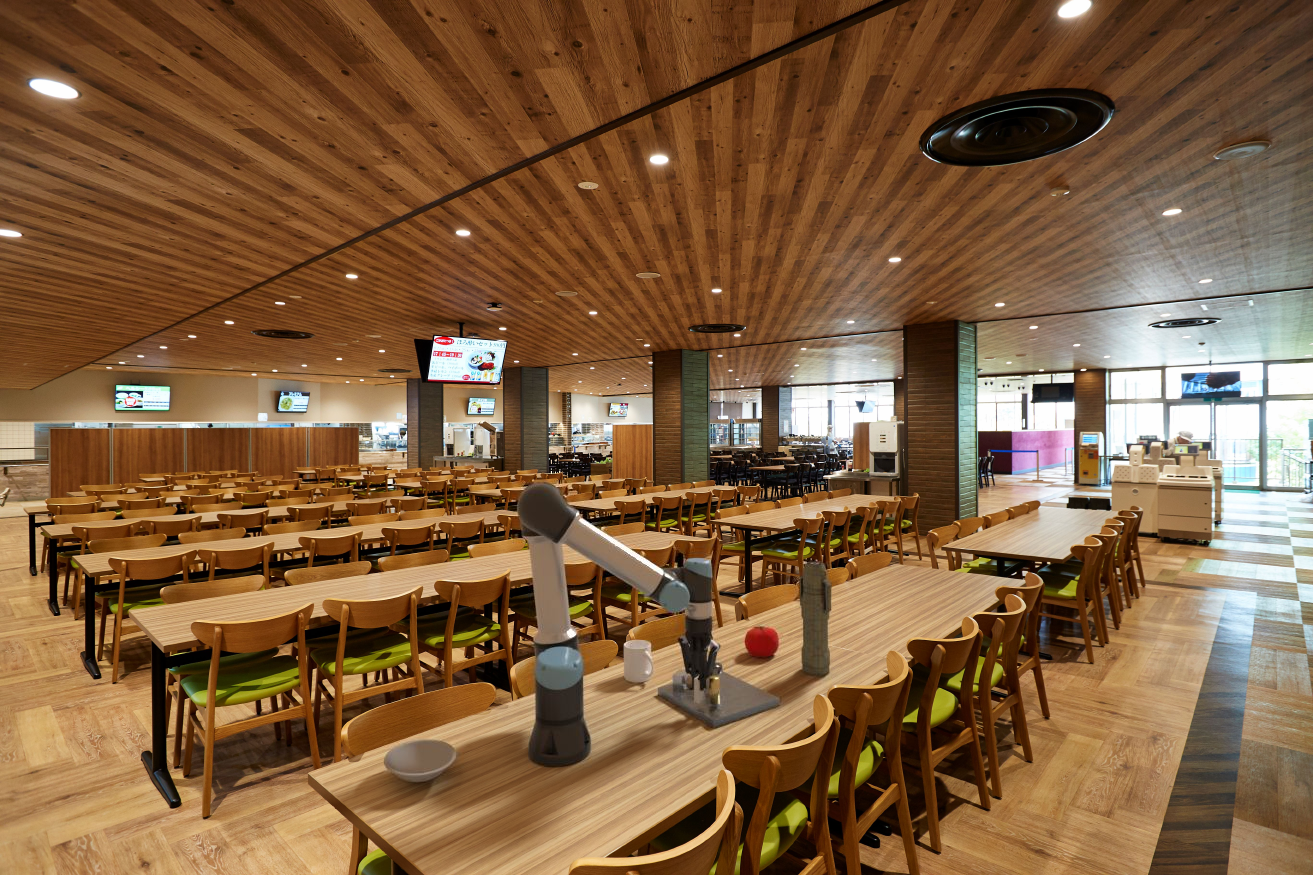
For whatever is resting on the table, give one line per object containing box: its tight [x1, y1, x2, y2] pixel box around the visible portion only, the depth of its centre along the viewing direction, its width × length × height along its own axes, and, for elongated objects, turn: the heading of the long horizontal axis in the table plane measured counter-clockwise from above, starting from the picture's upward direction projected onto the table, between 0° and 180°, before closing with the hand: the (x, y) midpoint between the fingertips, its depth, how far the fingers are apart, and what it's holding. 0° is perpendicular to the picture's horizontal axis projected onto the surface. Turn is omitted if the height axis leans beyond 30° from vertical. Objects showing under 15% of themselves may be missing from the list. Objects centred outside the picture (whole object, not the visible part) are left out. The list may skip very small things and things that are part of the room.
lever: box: [706, 661, 723, 705], centre depth 178 cm, size 5×19×7 cm, turn 175°
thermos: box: [798, 561, 832, 677], centre depth 200 cm, size 9×12×35 cm
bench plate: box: [657, 668, 781, 729], centre depth 179 cm, size 24×26×6 cm
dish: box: [383, 738, 457, 783], centre depth 139 cm, size 18×14×5 cm
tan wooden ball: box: [686, 674, 694, 689], centre depth 182 cm, size 4×4×4 cm
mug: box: [623, 639, 654, 684], centre depth 195 cm, size 9×12×11 cm
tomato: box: [744, 625, 780, 658], centre depth 216 cm, size 11×13×10 cm
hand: (699, 700), depth 171 cm, fingers closed
